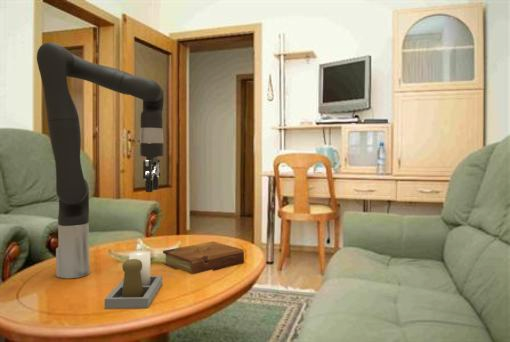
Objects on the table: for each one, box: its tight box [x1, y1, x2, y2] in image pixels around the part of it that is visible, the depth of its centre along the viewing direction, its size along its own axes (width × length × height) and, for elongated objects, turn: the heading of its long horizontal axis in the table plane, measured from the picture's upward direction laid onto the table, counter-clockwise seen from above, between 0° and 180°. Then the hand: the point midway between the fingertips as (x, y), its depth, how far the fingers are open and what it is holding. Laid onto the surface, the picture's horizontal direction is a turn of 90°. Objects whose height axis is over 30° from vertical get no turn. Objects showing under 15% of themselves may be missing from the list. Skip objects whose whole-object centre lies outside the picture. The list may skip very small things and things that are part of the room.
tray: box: [104, 275, 163, 310], centre depth 111 cm, size 11×19×3 cm, turn 2°
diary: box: [162, 240, 245, 275], centre depth 145 cm, size 23×19×6 cm
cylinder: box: [128, 249, 152, 286], centre depth 115 cm, size 6×6×11 cm
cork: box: [121, 258, 144, 297], centre depth 107 cm, size 6×6×11 cm
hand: (152, 190), depth 131 cm, fingers open, 8 cm apart
